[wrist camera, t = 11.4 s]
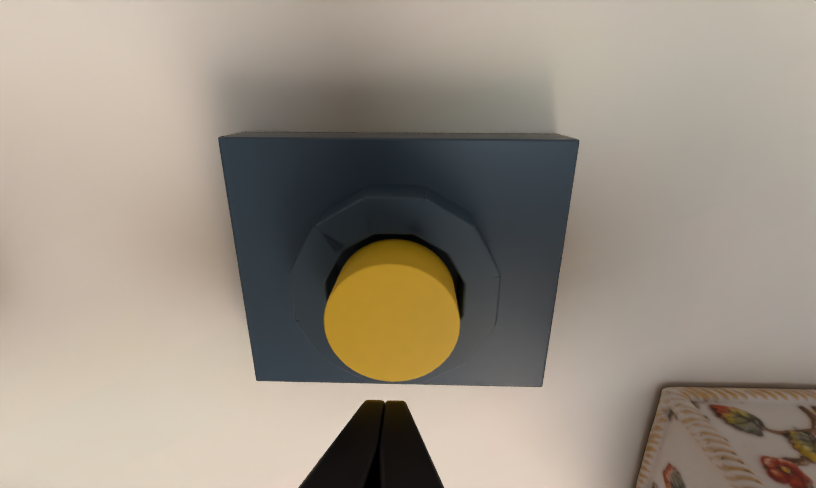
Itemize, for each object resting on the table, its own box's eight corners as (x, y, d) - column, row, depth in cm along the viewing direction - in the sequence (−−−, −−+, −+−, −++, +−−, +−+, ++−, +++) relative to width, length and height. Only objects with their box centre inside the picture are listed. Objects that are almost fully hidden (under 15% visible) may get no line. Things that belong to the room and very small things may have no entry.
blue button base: (273, 350, 19) (237, 413, 15) (244, 131, 15) (187, 142, 12) (528, 355, 18) (557, 421, 15) (558, 133, 15) (605, 145, 11)
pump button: (340, 342, 14) (327, 380, 12) (333, 237, 13) (318, 262, 11) (451, 344, 14) (456, 383, 12) (457, 239, 13) (463, 264, 11)
